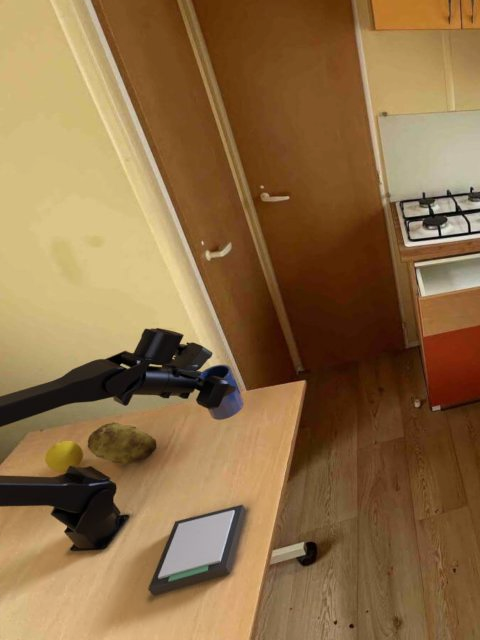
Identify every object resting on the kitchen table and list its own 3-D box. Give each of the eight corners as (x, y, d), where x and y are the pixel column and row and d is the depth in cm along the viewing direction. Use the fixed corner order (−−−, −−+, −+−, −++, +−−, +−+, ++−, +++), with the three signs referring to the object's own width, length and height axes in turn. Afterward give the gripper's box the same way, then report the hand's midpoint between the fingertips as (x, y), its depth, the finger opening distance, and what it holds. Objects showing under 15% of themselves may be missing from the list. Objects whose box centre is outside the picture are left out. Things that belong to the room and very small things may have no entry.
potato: (125, 480, 93) (109, 456, 89) (91, 459, 98) (75, 436, 94) (165, 450, 100) (151, 426, 96) (132, 432, 104) (118, 409, 101)
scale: (230, 574, 77) (225, 565, 76) (153, 596, 74) (146, 587, 73) (246, 511, 87) (242, 502, 86) (179, 528, 84) (174, 519, 83)
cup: (234, 419, 101) (220, 385, 96) (204, 420, 101) (188, 386, 96) (249, 397, 107) (236, 364, 102) (221, 398, 107) (207, 364, 102)
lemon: (86, 453, 99) (70, 429, 95) (91, 466, 96) (75, 443, 92) (54, 469, 95) (36, 445, 92) (58, 484, 92) (39, 460, 88)
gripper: (206, 354, 87) (266, 362, 101) (149, 332, 93) (214, 342, 107) (180, 409, 84) (246, 409, 98) (123, 382, 90) (193, 386, 104)
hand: (224, 384), depth 102 cm, fingers closed on cup, 7 cm apart
